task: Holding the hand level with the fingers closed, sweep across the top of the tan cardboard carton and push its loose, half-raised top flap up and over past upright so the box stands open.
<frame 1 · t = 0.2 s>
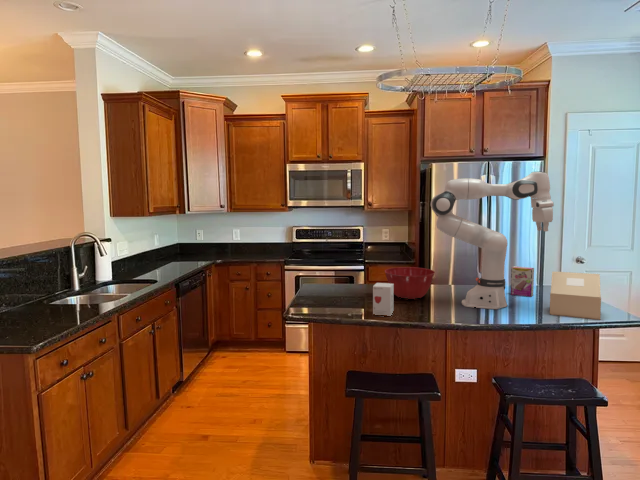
hand: (542, 231, 207), 39 cm above the worktop, tool pointing down, fingers open, 8 cm apart
carton: (574, 312, 197), on the worktop
carton flap: (575, 283, 194), point 15 cm above the worktop, hinge at 35.0°
candy bar box: (521, 295, 236), on the worktop
mixing bowl: (409, 297, 239), on the worktop
supplement box: (383, 314, 204), on the worktop
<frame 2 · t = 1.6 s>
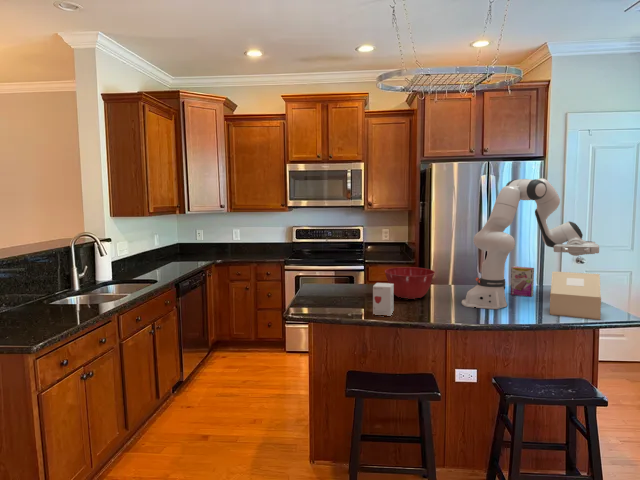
hand: (575, 250, 208), 29 cm above the worktop, tool horizontal, fingers open, 7 cm apart
nothing on the worktop moved.
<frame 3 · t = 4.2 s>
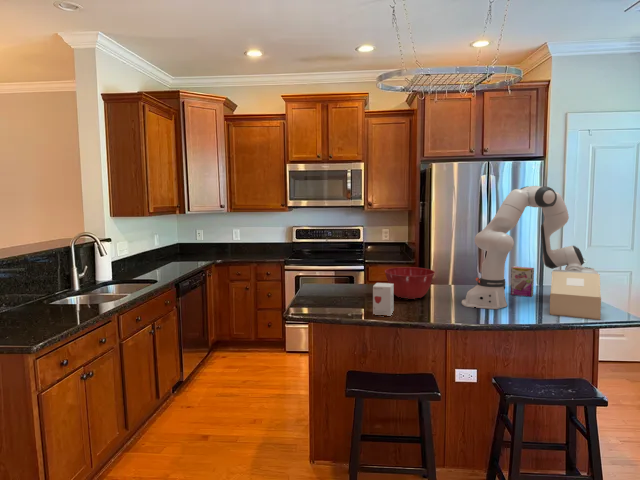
hand: (574, 277, 203), 16 cm above the worktop, tool horizontal, fingers closed
nothing on the worktop moved.
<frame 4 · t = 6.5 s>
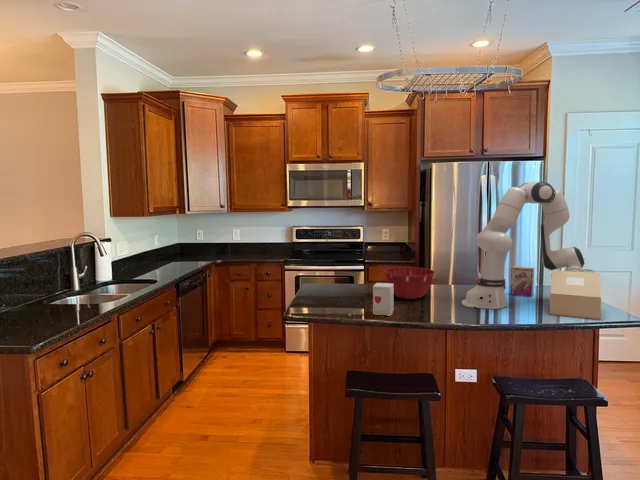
hand: (575, 280, 197), 16 cm above the worktop, tool horizontal, fingers closed, pressing on carton flap
carton flap: (575, 283, 194), point 15 cm above the worktop, hinge at 37.8°, touching gripper
everything else where it was.
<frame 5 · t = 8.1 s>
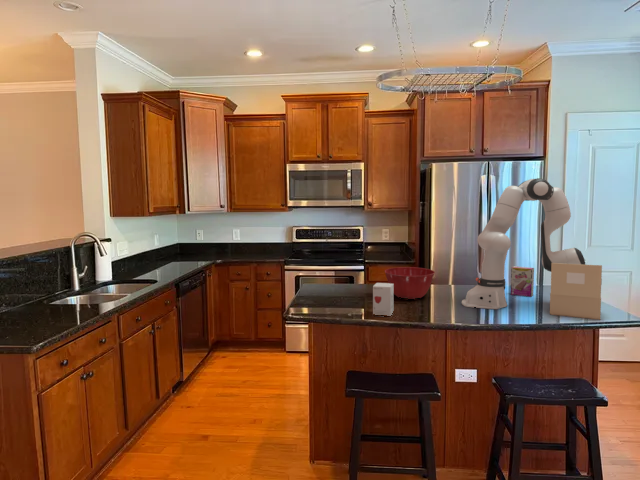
hand: (576, 282, 189), 16 cm above the worktop, tool horizontal, fingers closed, pressing on carton flap
carton flap: (575, 280, 189), point 17 cm above the worktop, hinge at 92.6°, touching gripper
everything else where it was.
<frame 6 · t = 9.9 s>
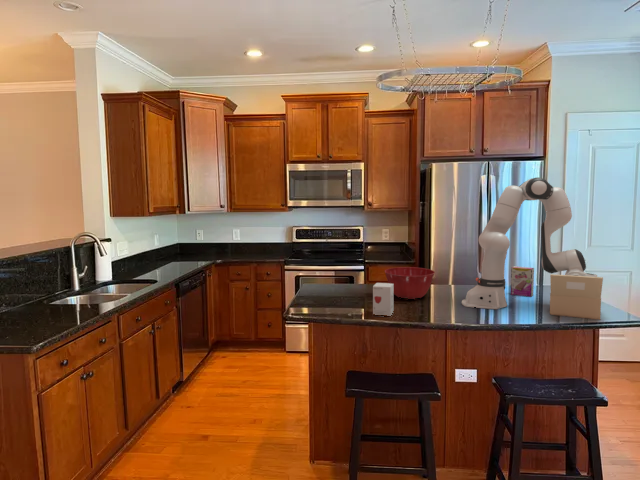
hand: (576, 285, 185), 16 cm above the worktop, tool horizontal, fingers closed, pressing on carton flap
carton flap: (575, 286, 185), point 15 cm above the worktop, hinge at 132.0°, touching gripper
everything else where it was.
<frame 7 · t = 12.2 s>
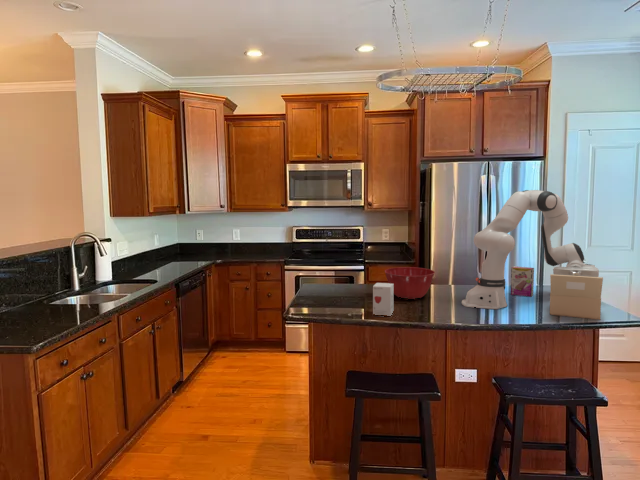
hand: (575, 274, 209), 16 cm above the worktop, tool horizontal, fingers closed
carton flap: (575, 286, 185), point 15 cm above the worktop, hinge at 132.0°
everything else where it was.
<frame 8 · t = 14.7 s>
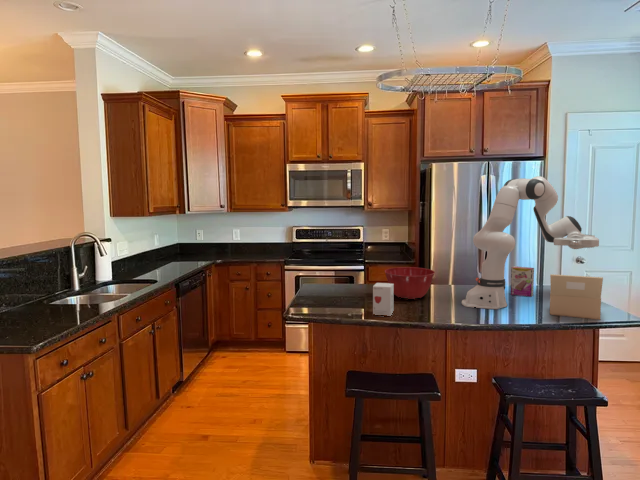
hand: (575, 243, 210), 32 cm above the worktop, tool horizontal, fingers closed
nothing on the worktop moved.
at the end: carton flap at +132° (first picture: +35°); candy bar box moved 0.2 cm from its start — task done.
